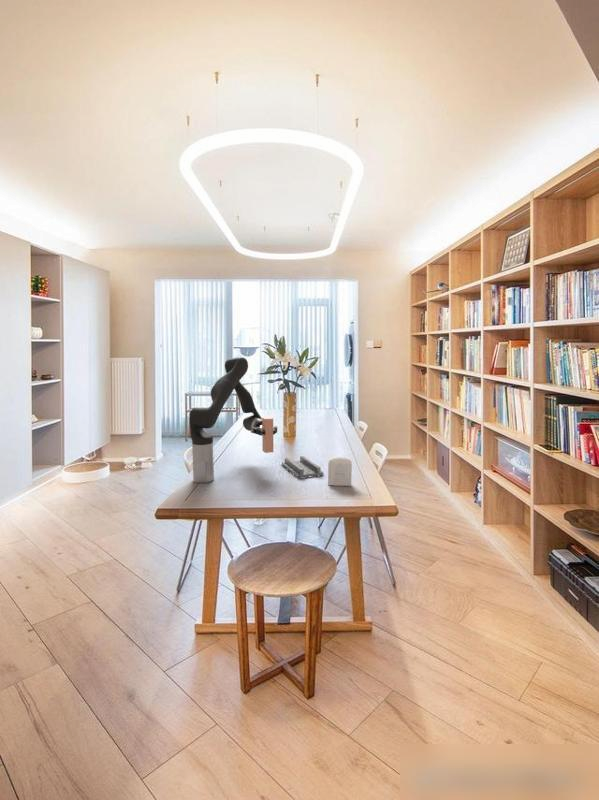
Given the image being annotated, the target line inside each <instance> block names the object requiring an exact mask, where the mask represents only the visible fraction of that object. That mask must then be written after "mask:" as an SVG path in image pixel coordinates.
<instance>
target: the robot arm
mask: <svg viewBox="0 0 599 800" xmlns="http://www.w3.org/2000/svg"><path fill="white" fill-rule="evenodd" d="M248 362H249V361H248V360H247V358H245V357H243V356H236V357H235V358H234V357H233V358H230V359H226V361H225V362H224V369H225V373H226V374H224V375H222V376H221V377H220V378H218V380H217V381H216V382H214V385H213V386H212V387H211V390H210V397H211V401H212V403H211V404H210V406H209V407H194V408H192V409H191V410H190V412H189V431H190V438H191V439H190V440H191V444H192V446H191V447H192V449H191V450H192V451H191V453H192V454H191V455H192V473H193V474H192V478H193V483H198V484H199V483H202V484H207V483H209V482H212V481H214V479H215V472H214V471H215V470H214V463H215V462H214V438H213V436H212V435H211V434H209V433H207V432H206V431H205V430H204V429H207V430H208V429H212V428H213V427H214V426H215V425H216V423H217V421H218V419H219V416H220V414H221V412H222V411H223V408H224V406H225V404H226V402H228V400H229V398H230V397H231V395H232V393H233V391H235V392H236V396H237V398H238V401H239V405H240V407H241V410H242V413H244V414H253V415H251V416H250V415H249V416H247V417H245V418H243V420H242V426H243V428H244V429H245V430H247V431H249V432H250V433H251V434H254V435H257V436H262V434H263V435H265V430H264V429H262V418H263V417H262V416H261V415H260V413H259V412H258V410H257V408H256V406H255V403H254V399H253V397H252V394H251V393H250V391H249V390H248V389H247V388H246V387H245V386H244V385H243V384H242V382H241V381H240V380H242V378H243V377H244V376H245V375H246V373H247V372H248V369H249V363H248ZM277 433H278V426H277V425H274V426H273V436H274V435H275V434H277Z"/></svg>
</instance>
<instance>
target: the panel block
mask: <svg viewBox="0 0 599 800" xmlns="http://www.w3.org/2000/svg"><path fill="white" fill-rule="evenodd" d="M261 418H262V429H264V430H265V435H263V434H262V438H261V439H262V445H261V446H262V449H261V450H262V452H264V453H265V454H268V453H269V454H270V453H274V435H273V428H274V418H272V417H271V416H269V417H268V416H267V417H265V416H264V417H261Z"/></svg>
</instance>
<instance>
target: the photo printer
mask: <svg viewBox="0 0 599 800" xmlns="http://www.w3.org/2000/svg"><path fill="white" fill-rule="evenodd" d="M327 464H328V465H327V485H328V486H336V487H337V486H338V487H339V486H340V487H342V486H343V487H351V486H352V473H353V472H352V469H353V465H352V460H351V459H350V458H347V457H342V456H336V457H331V458H329V460H328V463H327ZM350 485H351V486H350Z"/></svg>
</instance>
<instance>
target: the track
mask: <svg viewBox="0 0 599 800" xmlns="http://www.w3.org/2000/svg"><path fill="white" fill-rule="evenodd" d="M282 465H283V466H284V467H285V468H284V467H283V466H282ZM281 466H282V467H283V468H284V469H286V470H287V469H288V470H289V471H290V472H291V473H290V472H289V471H288V470H287V471H288V472H289V473H290V474H292V475H293V474H294V475H295V476H296V477H297V478H298V479H301V478H300V477H307V478H310V477H309V476H315V477H319V476H318V475H323V476H324V472H323V471H322V469H321V466H318V465H317V464H316V463H314V462H313V461H311V460H310V459H308V457H306V456H304V455H300V457H299V460H295V461H294V460H292V459H291V458H289V457H288V456H287V457H284V462H281ZM294 475H293V476H294ZM295 476H294V477H295ZM296 477H295V478H296ZM297 478H296V479H297Z"/></svg>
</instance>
